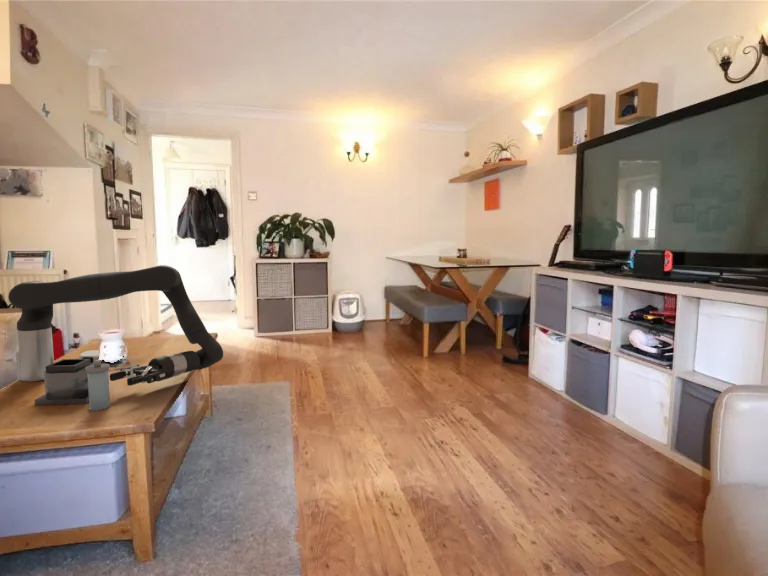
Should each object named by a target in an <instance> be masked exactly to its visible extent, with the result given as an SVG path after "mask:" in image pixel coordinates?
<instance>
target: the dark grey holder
mask: <svg viewBox="0 0 768 576" xmlns="http://www.w3.org/2000/svg"><path fill="white" fill-rule="evenodd" d="M90 365H91V362H90V359H76V358H67V359H66V358H63V359H60V360H58V361H54V363H53V364H50V365H48V366H46V371H44V392H45V394H42V395H41V396H40V397H37V398H35V399H34V405H35V406H38V405H39V406H45V405H79V404H80V405H85V403H86V405H87V404H89V393H88V376H87V372H86V371H85V368H86V367H87V366H90ZM83 403H84V404H83Z"/></svg>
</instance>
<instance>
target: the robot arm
mask: <svg viewBox="0 0 768 576" xmlns="http://www.w3.org/2000/svg"><path fill="white" fill-rule="evenodd" d="M150 291H156V292H162V293H163V295H164V296H165V297H166V298H167V300H168V301H169V302H170V304H171V306H172V308H173V311H174V312H175V315H176V318H177V321H178V323H179V325H180V328H181V330H182V331H183V334H184V336H185V337H186V338H187V341H188V342H189V344H191V345H196V344H197V345H198V346H200V349H198V350H196V351H195V350H187V351H183V352H182V351H181V352H179V353H178V352H177V353H171V354H166V355H163V356H158V357H154V358H151V360H150V361H149V362H148V364H144V365H143V364H142V365H140V364H134V365H130V366H129V365H128V366H125V367H121V368H119V370H120V371H115V372H112V373H109V381H110V382H115V381H118V380H122V379H126V384H127V386H134V385H137V384H145V383H146V384H153V383H155V382H161V381H165V380H168V379H172V378H176V377H177V376H180V375H183V374H185V373H189V372H193V371H196V370H197V371H198V370H204V369H207V368H210V367H211V366H213V365H215V364H217V363H218V362H220V361H222V360H223V357H224V349H223V347H222V346H221V344H220V343H219V342H218V341H217V340H216V338H214V337H213V336H212V334H211V333H209V331H208V329H207V328H206V326H205V324H204V323H203V320H202V319H201V317H200V315H199V314H198V313H197V310H196V308H195V307H194V305H193V303H192V301H191V299H190V297H189V295H188V293H187V290H186V288H185V286H184V282H183V280H182V277H181V274H180V272H179V270H177V269H176V268H174V267H172V266H170V265H167V264H162V265H161V264H160V265H156V266H151V267H147V268H142V269H138V270H131V271H128V270H127V271H111V272H108V271H107V272H100V273H92V274H84V275H80V276H75V277H70V278H67V279H63V280H57V281H51V282H50V281H48V282H44V281H41V280H31V281H25V282H21V283H18V284H16V285H14V286H13V287H12V288H11V289H10V290H9V292H8V296H7V297H8V301H9V302H10V304H11V305H12V306H13V307H14V308H17V309H20V310H21V315H20V317H19V319H18V320H17V321H16V331H17V332H16V333H17V344H18V346H17V347H18V351H17V352H15V359H16V360H15V362H16V375H17V381H22V382H39V381H43V380H44V371H46V366H48V365H50V364H53V363H55V358H54V342H53V329H52V321H53V319H54V305H57V304H64V303H65V304H67V303H70V304H71V303H86V302H97V301H103V300H104V301H105V300H110V299H116V298H119V297H123V296H126V295H129V294H131V293H132V294H133V293H137V292H138V293H139V292H150Z"/></svg>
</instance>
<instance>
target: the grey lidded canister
mask: <svg viewBox="0 0 768 576" xmlns="http://www.w3.org/2000/svg"><path fill="white" fill-rule="evenodd" d="M110 365H111V364H110V363H102V362H101V360H95V361H94V365H90V366H87V367H86V368H85V371H86V372H87V376H88V393H89V402H88V409H89V411H93V412H97V411H98V410H99V411H102V410H103V409H104V410H107V409H109V408H110V407H111V397H110V373H109V370H110V369H111V366H110ZM108 407H109V408H108ZM106 408H107V409H106ZM99 411H98V412H99Z"/></svg>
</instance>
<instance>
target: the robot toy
mask: <svg viewBox="0 0 768 576" xmlns="http://www.w3.org/2000/svg"><path fill="white" fill-rule="evenodd" d="M75 359H90V362H91V365H94V361H95V360H98V359H99V349H98V350H97V349H95V350H93V349H92V350H89V349H88V350H86V351H84V352H81V353H80V354H79V355H78V357H75Z"/></svg>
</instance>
